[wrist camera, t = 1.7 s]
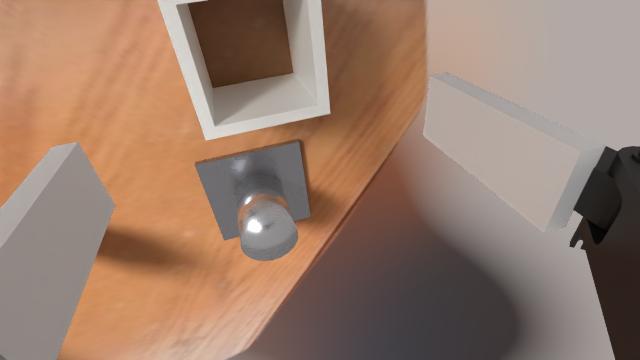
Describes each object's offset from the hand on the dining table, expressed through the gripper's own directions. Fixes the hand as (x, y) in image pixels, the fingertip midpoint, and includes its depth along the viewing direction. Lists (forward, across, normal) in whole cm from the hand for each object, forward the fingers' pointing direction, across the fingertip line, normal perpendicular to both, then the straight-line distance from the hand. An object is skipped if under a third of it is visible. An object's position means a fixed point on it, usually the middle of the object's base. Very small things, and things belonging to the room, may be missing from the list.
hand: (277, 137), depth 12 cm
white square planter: (+17, 0, +1) cm, 17 cm away
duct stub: (+17, -1, -14) cm, 22 cm away
